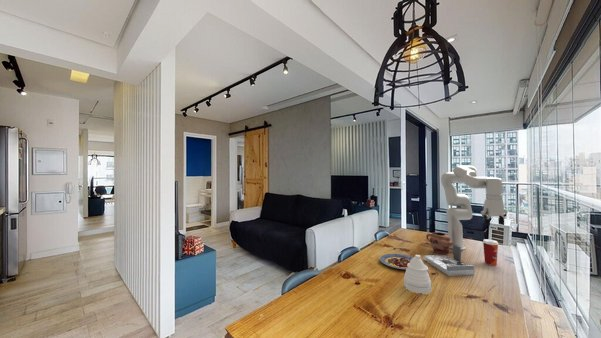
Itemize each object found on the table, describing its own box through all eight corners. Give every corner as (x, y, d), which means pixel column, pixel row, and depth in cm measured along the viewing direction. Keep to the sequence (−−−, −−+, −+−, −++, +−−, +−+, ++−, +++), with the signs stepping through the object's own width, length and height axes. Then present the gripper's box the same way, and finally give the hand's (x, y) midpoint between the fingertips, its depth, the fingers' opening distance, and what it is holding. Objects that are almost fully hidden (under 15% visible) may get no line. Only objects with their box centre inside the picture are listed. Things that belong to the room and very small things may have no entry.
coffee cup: (499, 267, 145) (499, 243, 145) (482, 264, 150) (482, 241, 150) (498, 262, 152) (498, 240, 152) (482, 259, 157) (482, 238, 157)
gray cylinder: (451, 259, 158) (451, 244, 158) (457, 258, 159) (457, 244, 159) (456, 261, 154) (456, 246, 154) (462, 261, 154) (462, 246, 154)
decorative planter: (421, 249, 179) (421, 231, 179) (430, 246, 185) (429, 229, 185) (448, 257, 162) (448, 237, 162) (457, 254, 168) (457, 235, 168)
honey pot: (435, 295, 113) (434, 259, 113) (407, 293, 116) (406, 258, 116) (426, 283, 126) (425, 250, 126) (401, 281, 129) (401, 249, 129)
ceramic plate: (412, 256, 164) (412, 252, 164) (429, 273, 138) (429, 268, 138) (375, 256, 167) (375, 252, 167) (385, 271, 141) (385, 267, 141)
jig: (423, 259, 158) (423, 252, 158) (445, 258, 159) (445, 251, 159) (448, 276, 134) (448, 266, 134) (474, 274, 135) (474, 265, 135)
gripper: (500, 196, 147) (500, 223, 147) (476, 197, 145) (476, 223, 145) (512, 197, 139) (512, 225, 139) (486, 198, 138) (487, 226, 138)
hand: (494, 224), depth 142 cm, fingers open, 9 cm apart
